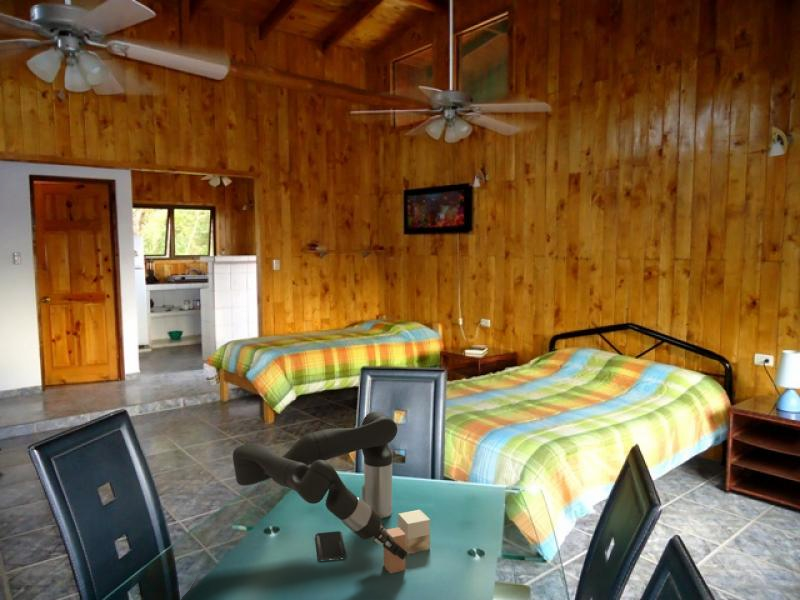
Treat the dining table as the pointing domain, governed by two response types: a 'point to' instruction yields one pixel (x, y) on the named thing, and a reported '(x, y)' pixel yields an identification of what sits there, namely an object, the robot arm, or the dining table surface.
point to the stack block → (393, 561)
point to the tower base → (417, 544)
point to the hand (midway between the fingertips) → (400, 551)
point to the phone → (330, 545)
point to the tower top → (414, 524)
